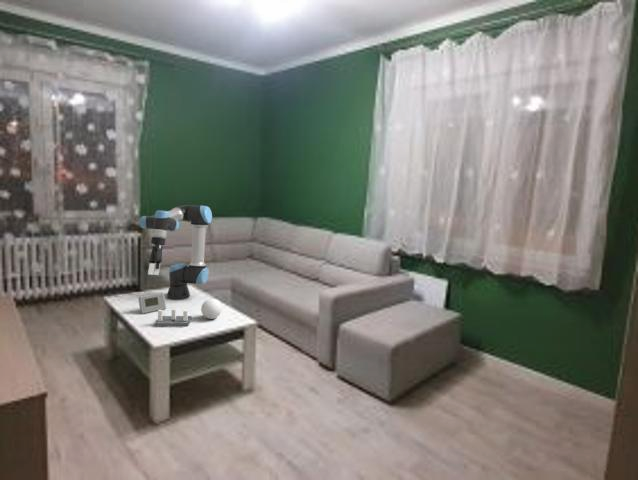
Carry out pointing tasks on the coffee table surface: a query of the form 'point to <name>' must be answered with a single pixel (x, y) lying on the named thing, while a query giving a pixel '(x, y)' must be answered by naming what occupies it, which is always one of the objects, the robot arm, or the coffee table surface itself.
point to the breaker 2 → (185, 315)
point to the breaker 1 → (160, 315)
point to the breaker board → (172, 322)
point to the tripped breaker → (173, 313)
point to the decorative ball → (211, 308)
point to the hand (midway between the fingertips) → (153, 274)
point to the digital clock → (152, 302)
